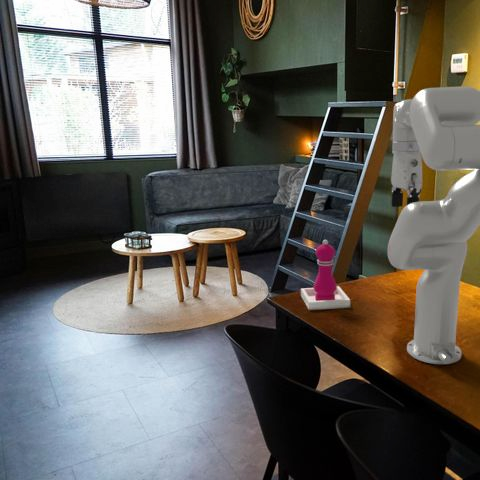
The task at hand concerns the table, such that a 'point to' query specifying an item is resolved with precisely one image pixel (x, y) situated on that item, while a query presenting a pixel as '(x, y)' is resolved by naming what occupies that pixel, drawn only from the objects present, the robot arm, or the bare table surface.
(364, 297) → the table surface
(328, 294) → the pepper mill
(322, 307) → the ceramic dish
